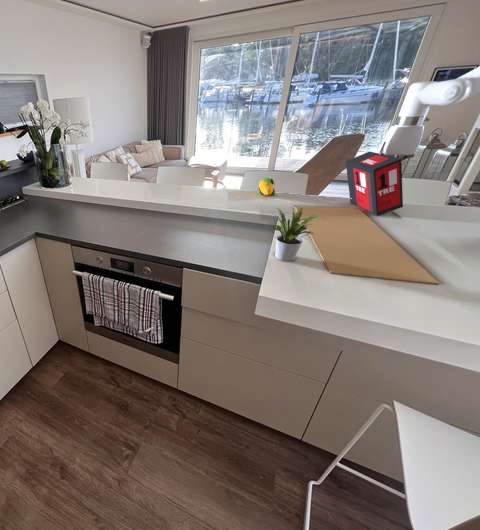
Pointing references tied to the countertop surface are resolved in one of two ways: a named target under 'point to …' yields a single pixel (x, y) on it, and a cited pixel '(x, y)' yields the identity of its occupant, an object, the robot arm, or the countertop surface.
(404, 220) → the countertop surface
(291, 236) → the house plant
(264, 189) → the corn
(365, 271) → the mat
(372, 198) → the cleaning product box
